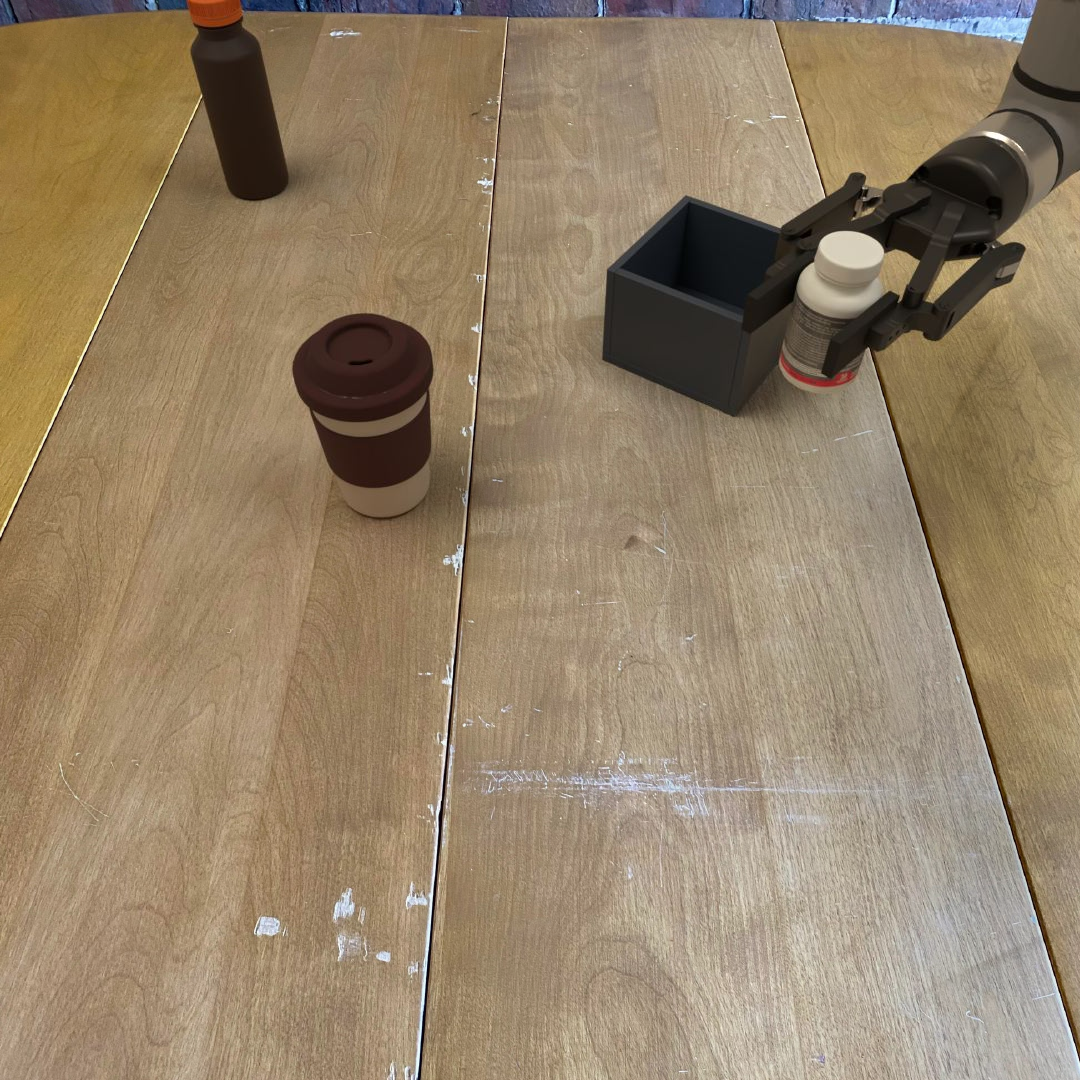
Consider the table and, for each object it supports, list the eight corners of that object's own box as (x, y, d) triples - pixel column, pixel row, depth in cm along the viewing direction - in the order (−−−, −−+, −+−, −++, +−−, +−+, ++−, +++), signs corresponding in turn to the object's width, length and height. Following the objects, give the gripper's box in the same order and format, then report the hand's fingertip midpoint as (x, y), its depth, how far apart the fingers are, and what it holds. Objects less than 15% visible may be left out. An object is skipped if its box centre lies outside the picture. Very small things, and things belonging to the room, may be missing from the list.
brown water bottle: (286, 163, 112) (244, -26, 97) (293, 195, 108) (250, 2, 93) (225, 172, 111) (173, -18, 96) (230, 205, 107) (176, 11, 91)
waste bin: (801, 333, 93) (824, 243, 85) (734, 417, 86) (752, 326, 78) (674, 284, 98) (685, 194, 90) (601, 359, 91) (606, 269, 83)
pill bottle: (847, 405, 66) (886, 283, 58) (768, 383, 67) (797, 262, 60) (864, 356, 69) (903, 234, 61) (788, 336, 70) (818, 215, 63)
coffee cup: (367, 429, 85) (338, 284, 73) (468, 465, 82) (455, 320, 71) (300, 508, 79) (258, 364, 68) (407, 549, 77) (381, 406, 65)
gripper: (1077, 284, 70) (902, 453, 60) (856, 185, 79) (668, 319, 68) (1125, 189, 65) (940, 358, 54) (880, 92, 73) (679, 223, 62)
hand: (789, 336), depth 61 cm, fingers closed on pill bottle, 5 cm apart
